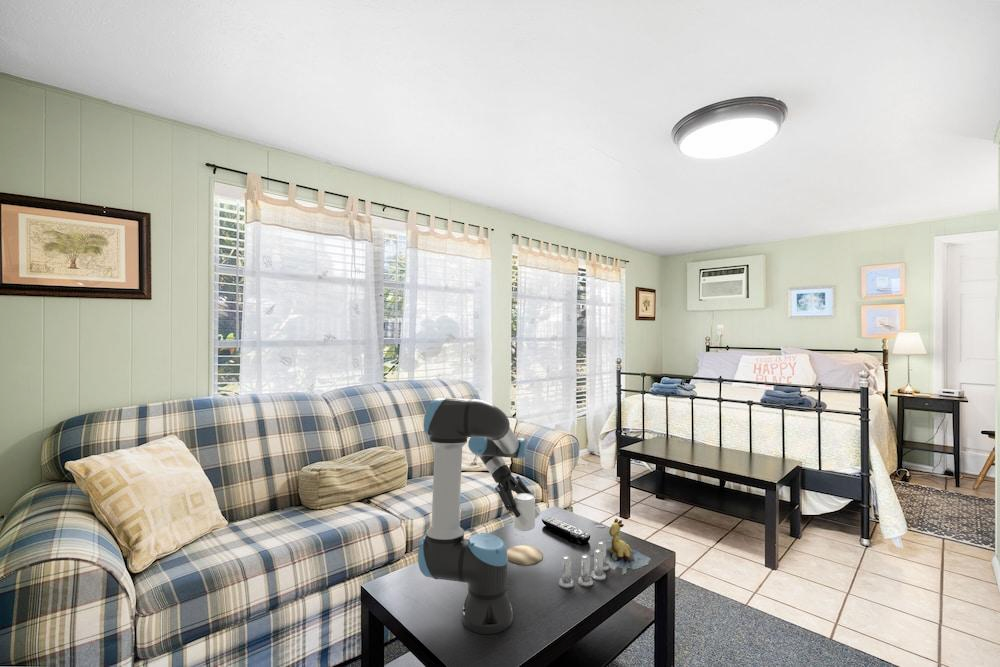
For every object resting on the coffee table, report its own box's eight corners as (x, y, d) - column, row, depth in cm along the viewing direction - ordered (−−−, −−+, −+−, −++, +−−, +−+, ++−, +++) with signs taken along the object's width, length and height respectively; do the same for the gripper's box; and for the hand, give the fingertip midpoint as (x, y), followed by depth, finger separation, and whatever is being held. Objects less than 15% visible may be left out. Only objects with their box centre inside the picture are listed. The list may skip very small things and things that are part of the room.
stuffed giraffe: (590, 556, 172) (592, 514, 171) (622, 546, 181) (625, 507, 181) (622, 576, 158) (625, 532, 158) (655, 564, 168) (658, 522, 168)
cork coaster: (529, 568, 162) (529, 567, 162) (498, 557, 170) (498, 555, 170) (549, 554, 173) (549, 552, 173) (519, 543, 181) (519, 542, 181)
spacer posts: (587, 597, 144) (587, 569, 144) (556, 584, 151) (556, 558, 151) (615, 568, 162) (615, 543, 162) (587, 558, 169) (587, 534, 169)
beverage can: (535, 532, 168) (535, 500, 168) (513, 532, 168) (514, 500, 168) (534, 523, 176) (534, 492, 176) (513, 522, 176) (513, 492, 176)
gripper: (508, 468, 189) (540, 516, 180) (476, 481, 173) (509, 534, 163) (519, 458, 186) (552, 506, 176) (487, 470, 170) (521, 523, 160)
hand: (531, 519), depth 170 cm, fingers closed on beverage can, 8 cm apart
